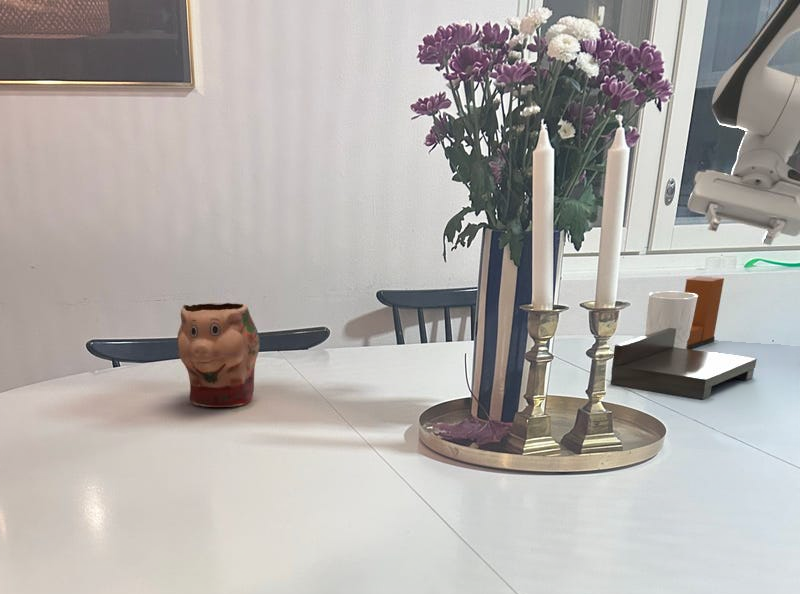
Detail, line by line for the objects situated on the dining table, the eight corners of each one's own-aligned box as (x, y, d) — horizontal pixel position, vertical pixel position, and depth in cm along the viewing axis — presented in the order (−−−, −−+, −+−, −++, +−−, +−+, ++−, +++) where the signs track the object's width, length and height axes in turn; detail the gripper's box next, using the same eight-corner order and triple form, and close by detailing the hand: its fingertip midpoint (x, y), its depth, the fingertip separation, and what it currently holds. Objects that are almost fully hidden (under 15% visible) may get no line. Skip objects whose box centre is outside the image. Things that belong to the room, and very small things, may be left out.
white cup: (697, 357, 162) (708, 296, 157) (660, 361, 160) (669, 299, 155) (668, 348, 168) (677, 290, 164) (631, 352, 166) (639, 293, 161)
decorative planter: (192, 384, 153) (184, 294, 146) (266, 382, 152) (262, 292, 146) (172, 416, 135) (162, 316, 129) (256, 415, 135) (251, 314, 128)
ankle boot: (714, 341, 173) (725, 278, 168) (689, 349, 167) (700, 284, 162) (688, 337, 176) (698, 275, 171) (663, 346, 170) (672, 282, 165)
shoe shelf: (753, 377, 148) (760, 338, 145) (702, 399, 137) (709, 358, 134) (664, 364, 158) (669, 327, 155) (609, 384, 146) (614, 345, 144)
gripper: (703, 152, 167) (686, 204, 161) (820, 180, 163) (807, 234, 158) (691, 183, 172) (675, 234, 167) (804, 210, 169) (791, 263, 163)
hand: (740, 234), depth 162 cm, fingers open, 8 cm apart
